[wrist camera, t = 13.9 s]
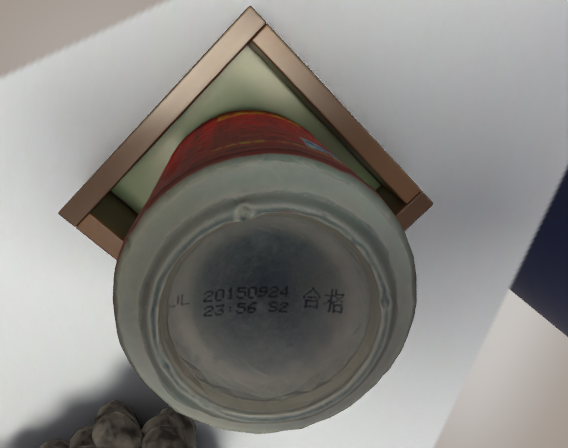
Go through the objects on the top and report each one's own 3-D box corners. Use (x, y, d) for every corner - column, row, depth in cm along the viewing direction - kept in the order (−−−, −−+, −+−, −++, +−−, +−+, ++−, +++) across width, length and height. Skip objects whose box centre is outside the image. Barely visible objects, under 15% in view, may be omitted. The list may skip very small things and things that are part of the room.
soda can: (331, 254, 24) (428, 437, 12) (178, 269, 23) (128, 475, 12) (325, 99, 22) (436, 143, 10) (156, 111, 21) (68, 173, 10)
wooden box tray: (401, 180, 24) (434, 204, 20) (250, 324, 26) (255, 371, 22) (245, 14, 21) (250, 4, 17) (86, 186, 23) (57, 213, 19)
